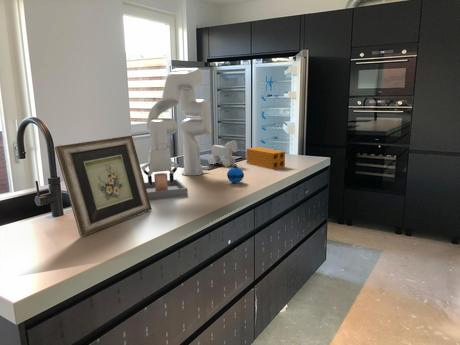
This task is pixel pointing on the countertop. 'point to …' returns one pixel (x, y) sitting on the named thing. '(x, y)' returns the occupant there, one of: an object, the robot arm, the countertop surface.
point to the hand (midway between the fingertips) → (161, 183)
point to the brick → (266, 158)
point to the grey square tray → (173, 190)
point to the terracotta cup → (161, 181)
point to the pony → (223, 154)
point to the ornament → (235, 174)
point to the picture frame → (103, 182)
